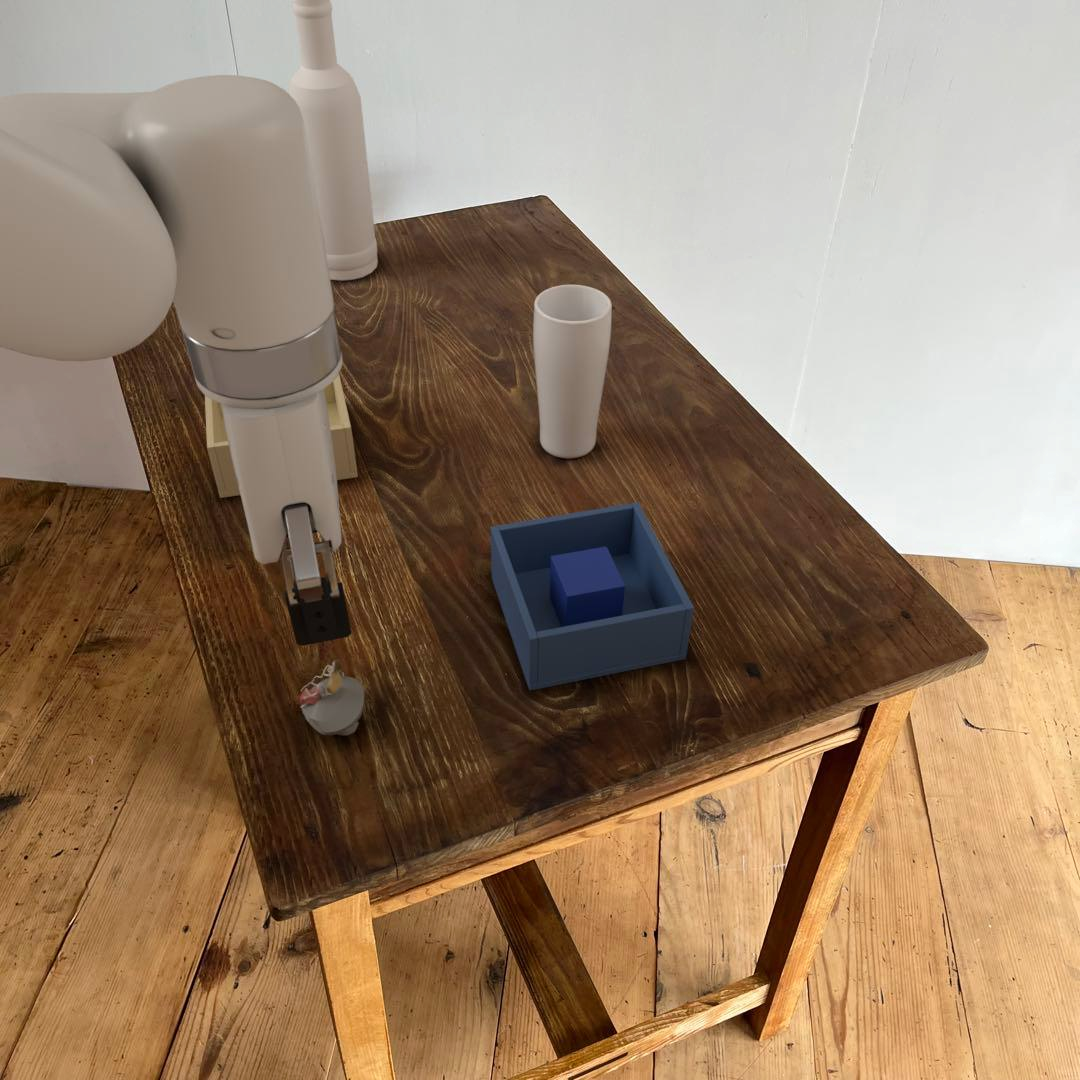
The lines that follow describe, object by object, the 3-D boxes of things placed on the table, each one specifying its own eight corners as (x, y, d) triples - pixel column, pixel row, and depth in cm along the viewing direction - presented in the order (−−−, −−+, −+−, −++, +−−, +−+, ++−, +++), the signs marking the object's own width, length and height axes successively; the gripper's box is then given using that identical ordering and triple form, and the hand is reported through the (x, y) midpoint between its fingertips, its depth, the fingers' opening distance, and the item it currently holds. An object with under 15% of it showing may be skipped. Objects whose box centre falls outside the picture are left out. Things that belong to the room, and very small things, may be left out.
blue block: (565, 638, 77) (567, 596, 74) (549, 597, 80) (550, 555, 77) (621, 627, 78) (625, 585, 75) (603, 587, 81) (606, 545, 78)
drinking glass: (582, 416, 100) (589, 277, 90) (616, 454, 95) (627, 312, 85) (520, 434, 97) (520, 293, 87) (551, 474, 93) (555, 330, 83)
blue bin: (529, 691, 74) (529, 639, 70) (491, 578, 83) (490, 526, 79) (685, 659, 76) (694, 607, 73) (633, 552, 85) (638, 501, 81)
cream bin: (220, 498, 90) (206, 447, 86) (215, 420, 98) (203, 371, 95) (358, 477, 92) (351, 427, 88) (341, 403, 101) (335, 354, 97)
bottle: (327, 288, 118) (287, 6, 98) (301, 260, 123) (258, -13, 103) (389, 271, 121) (363, -5, 101) (362, 245, 126) (332, -23, 106)
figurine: (366, 746, 70) (356, 690, 66) (301, 750, 70) (288, 694, 66) (368, 687, 74) (360, 631, 70) (307, 690, 74) (295, 634, 70)
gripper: (186, 273, 57) (246, 504, 69) (191, 456, 45) (263, 700, 56) (320, 256, 58) (357, 486, 70) (361, 429, 46) (397, 673, 58)
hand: (315, 581), depth 63 cm, fingers open, 9 cm apart
